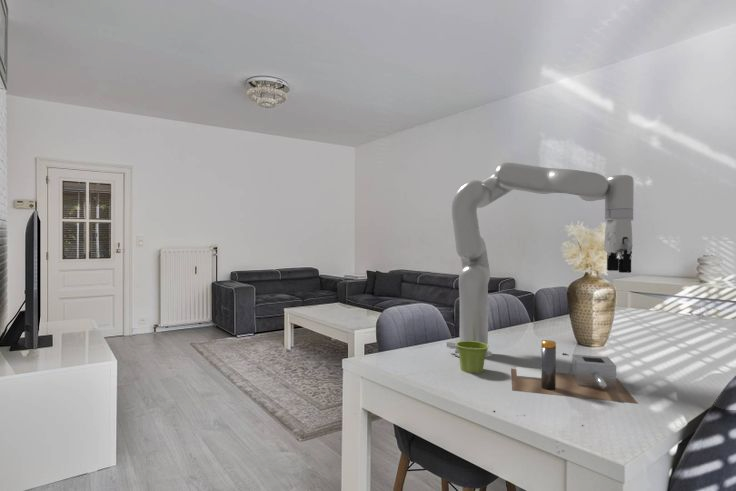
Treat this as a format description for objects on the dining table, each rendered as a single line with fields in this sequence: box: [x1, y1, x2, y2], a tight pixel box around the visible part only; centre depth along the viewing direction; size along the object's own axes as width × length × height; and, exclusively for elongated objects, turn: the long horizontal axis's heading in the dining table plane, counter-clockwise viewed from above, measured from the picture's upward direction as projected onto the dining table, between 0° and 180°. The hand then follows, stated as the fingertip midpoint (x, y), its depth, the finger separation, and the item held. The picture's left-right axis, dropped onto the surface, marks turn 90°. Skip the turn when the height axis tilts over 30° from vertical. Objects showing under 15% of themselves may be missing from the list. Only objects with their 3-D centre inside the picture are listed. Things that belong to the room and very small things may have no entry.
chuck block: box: [571, 354, 617, 389], centre depth 111 cm, size 9×17×6 cm, turn 162°
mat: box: [515, 366, 541, 380], centre depth 121 cm, size 9×9×1 cm
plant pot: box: [455, 341, 489, 374], centre depth 125 cm, size 9×9×9 cm
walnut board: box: [510, 368, 639, 405], centre depth 113 cm, size 28×20×1 cm
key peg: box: [540, 339, 557, 390], centre depth 109 cm, size 3×3×12 cm
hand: (618, 271), depth 130 cm, fingers open, 9 cm apart
